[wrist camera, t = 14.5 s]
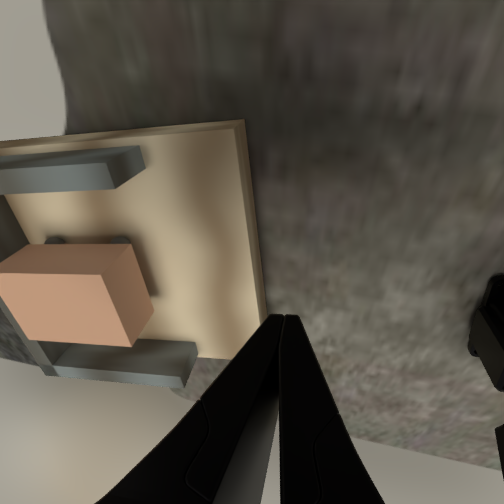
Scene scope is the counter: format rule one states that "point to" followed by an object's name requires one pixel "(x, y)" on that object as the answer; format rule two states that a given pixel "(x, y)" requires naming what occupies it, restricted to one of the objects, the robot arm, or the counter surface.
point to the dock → (146, 238)
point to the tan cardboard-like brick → (77, 292)
